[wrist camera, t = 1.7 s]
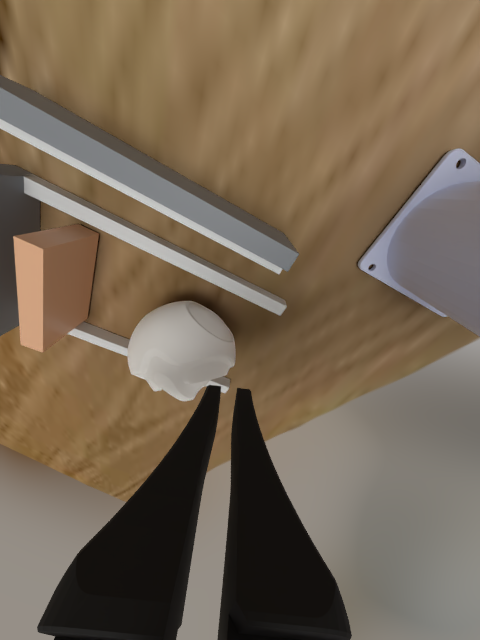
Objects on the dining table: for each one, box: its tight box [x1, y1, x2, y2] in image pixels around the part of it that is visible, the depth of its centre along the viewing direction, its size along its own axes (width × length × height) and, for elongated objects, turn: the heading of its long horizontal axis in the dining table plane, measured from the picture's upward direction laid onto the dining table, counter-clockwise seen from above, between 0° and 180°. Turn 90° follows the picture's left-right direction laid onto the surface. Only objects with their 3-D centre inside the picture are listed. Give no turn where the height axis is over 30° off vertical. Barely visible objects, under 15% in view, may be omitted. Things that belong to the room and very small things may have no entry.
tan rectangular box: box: [13, 224, 99, 352], centre depth 16 cm, size 2×8×5 cm, turn 153°
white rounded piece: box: [128, 301, 236, 401], centre depth 17 cm, size 8×8×8 cm
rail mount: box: [0, 75, 299, 393], centre depth 15 cm, size 21×16×6 cm
